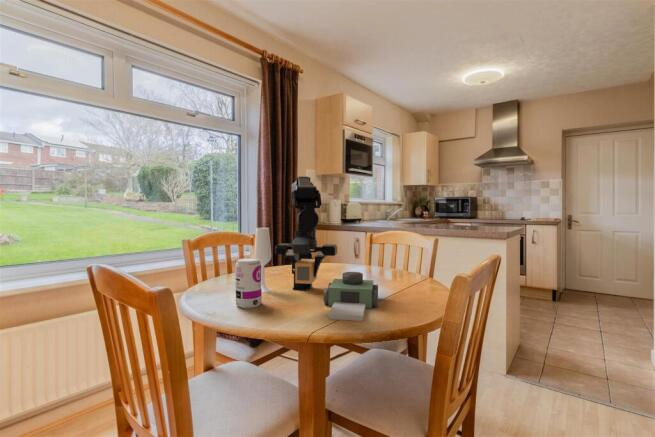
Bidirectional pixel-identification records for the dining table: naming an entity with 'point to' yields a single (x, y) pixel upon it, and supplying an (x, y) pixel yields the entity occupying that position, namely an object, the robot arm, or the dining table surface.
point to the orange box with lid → (305, 271)
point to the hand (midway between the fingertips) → (306, 277)
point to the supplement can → (248, 282)
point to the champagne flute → (263, 252)
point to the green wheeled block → (350, 296)
